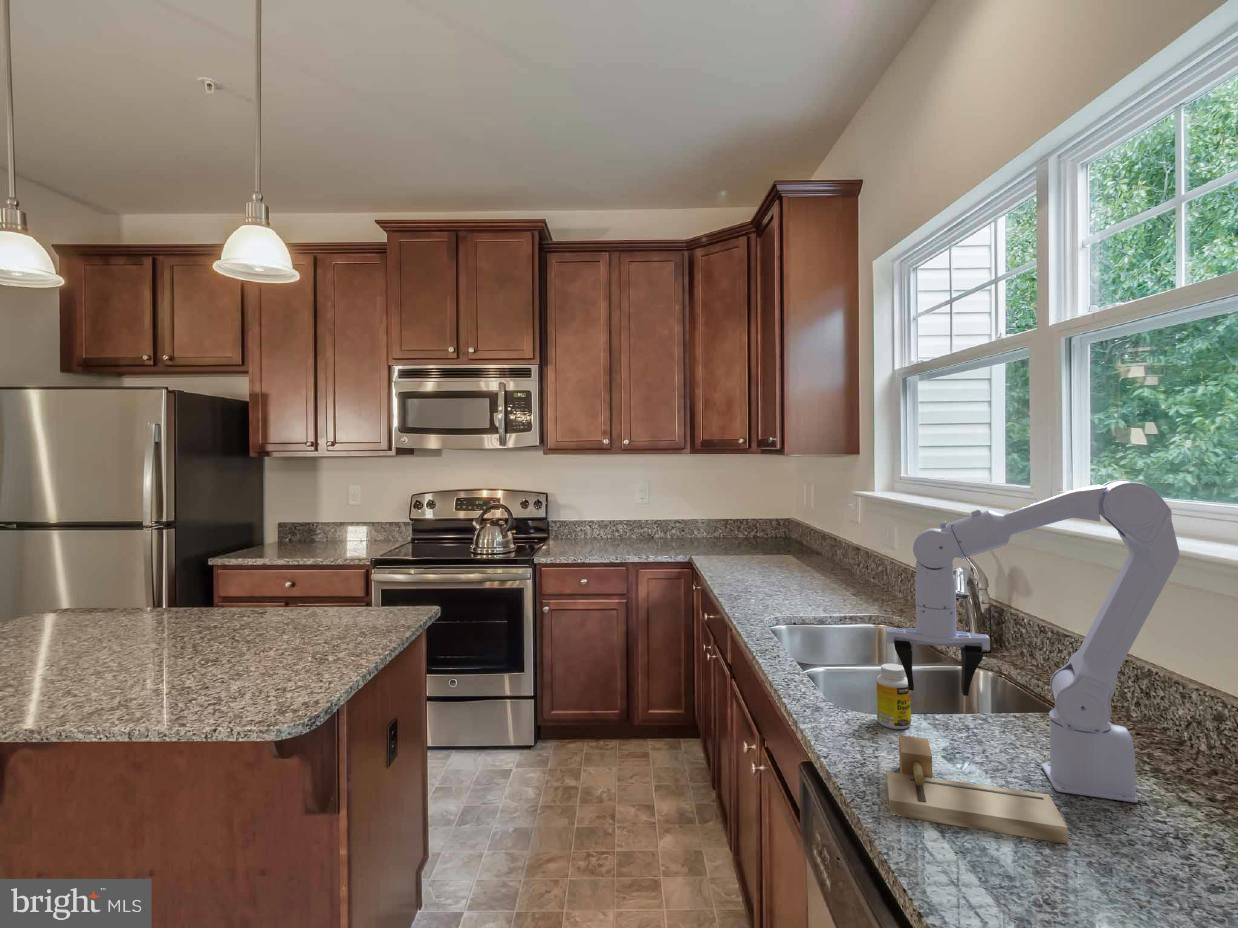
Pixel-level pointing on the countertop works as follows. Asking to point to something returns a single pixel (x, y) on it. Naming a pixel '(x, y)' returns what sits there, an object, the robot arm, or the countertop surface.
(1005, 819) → the maple board
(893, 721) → the supplement bottle
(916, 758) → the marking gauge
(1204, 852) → the countertop surface
